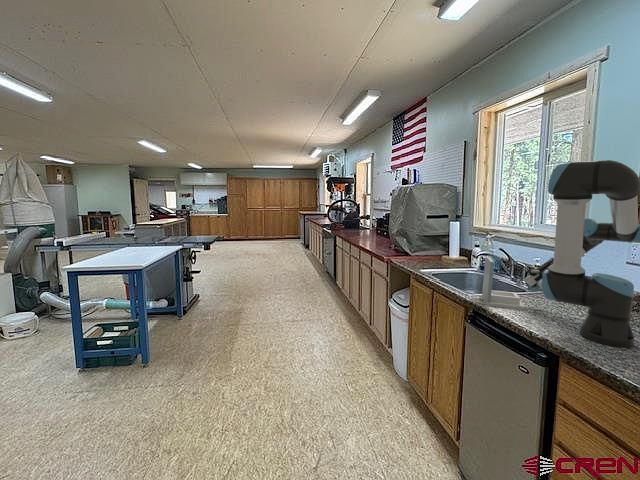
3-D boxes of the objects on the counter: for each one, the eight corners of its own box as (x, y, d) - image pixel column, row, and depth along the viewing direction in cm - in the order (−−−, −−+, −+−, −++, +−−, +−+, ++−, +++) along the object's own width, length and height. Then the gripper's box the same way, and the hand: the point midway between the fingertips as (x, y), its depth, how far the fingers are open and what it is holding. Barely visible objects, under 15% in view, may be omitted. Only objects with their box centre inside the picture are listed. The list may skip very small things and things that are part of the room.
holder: (524, 309, 153) (529, 264, 151) (486, 305, 158) (490, 261, 156) (516, 299, 170) (520, 258, 168) (482, 296, 175) (485, 256, 173)
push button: (542, 290, 162) (544, 270, 161) (543, 292, 157) (546, 272, 156) (526, 288, 165) (528, 268, 164) (527, 290, 160) (529, 270, 159)
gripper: (584, 261, 146) (538, 293, 153) (569, 256, 163) (527, 285, 170) (572, 248, 147) (526, 280, 154) (557, 245, 164) (517, 274, 171)
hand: (527, 283), depth 162 cm, fingers closed on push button, 5 cm apart
